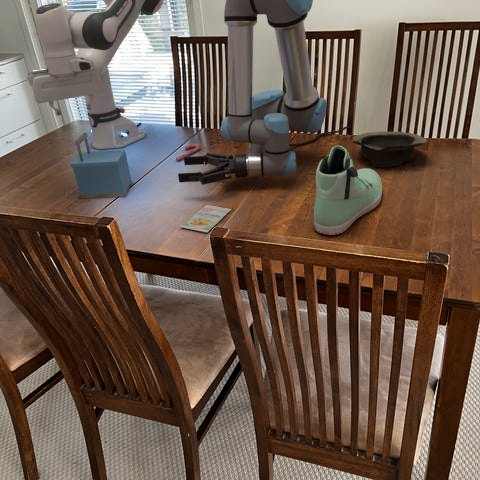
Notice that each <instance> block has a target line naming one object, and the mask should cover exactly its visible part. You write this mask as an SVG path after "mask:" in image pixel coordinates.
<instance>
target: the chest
mask: <svg viewBox="0 0 480 480" xmlns="http://www.w3.org/2000/svg"><path fill="white" fill-rule="evenodd" d="M72 170H73V174H74V177H75V182H76V185H77V188H78V192H79V193H78V194H79V196H80V199H92V198H93V199H94V198H120V197H122V198H123V197H126V195H127V193H128V191H129V190H130V188H131V186H132V184H133V182H132V176H131V172H130V166H129V163H128V157H127V154H125V155H124V157H123V158H122V160H121V161H120V162H119V164H118V165H108V166H86V167H72Z"/></svg>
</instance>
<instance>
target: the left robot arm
mask: <svg viewBox="0 0 480 480" xmlns="http://www.w3.org/2000/svg"><path fill="white" fill-rule="evenodd" d="M102 1H103V3H104V4H105V6H106V8H105V9H104V10H103V11H98V12H82V13H81V12H80V13H79V12H77V13H76V12H74V11H70V10H68V9H66V8H65V7H63V5H62V4H61V3H57V2H53V3H52V2H51V3H48V4H44V5H41V6H39V7H38V8H37V9H35V13H34V20H35V27H36V31H37V32H36V33H37V35H38V39H39V43H40V44H41V46H42V49H43V58H44V62H45V65H46V67H44V68H39V69H32V70H31V71H30V72H28V73H27V76H26V77H27V81H28V84H29V85H30V86H31V87H32V92H33V97H34V101H35V102H36V103H38V104H44V103H48V105H49V107H50V108H51V109H52V110H53V111H54V113H55V116H56V117H59V116H62V112H61V109H60V107H56V106H55V102H56V101H62V100H68V99H75V98H81V97H84V100H85V106H86V111H87V118H88V122H89V125H90V127H91V128H90V129H91V130H90V133H91V137H92V138H91V140H92V141H91V147H92V148H94V149H98V150H107V149H121V148H122V149H123V148H124V147H127V146H128V145H131V144H132V143H135V142H137V141H139V140H141V139H143V138H145V137H146V135H145V133H144V132H142V131H140V130H139V129H138V127H140V125H142V122H141V121H140V122H138V124H136V123H135V122H134V121H133V120H131V119H129V118H127V117H125V116H123V115H122V114H125V112H126V109H125V108H124V107H123V108H122V107H117V106H116V103H115V97H114V94H113V88H112V83H111V76H110V70H109V65H110V63H111V62H112V60H113V58H114V57H115V55H116V53H117V51H118V50H119V48H120V46H121V45H122V43H123V42H124V40H125V39H126V37H127V36H128V34H129V33H130V32H131V30H132V28H133V27H134V25H135V23H136V22H137V21H138V19H139V16H148V17H149V16H153V15H155V14H157V13H158V12H159V11H160V9H161V8H162V6H163V4H164V0H102ZM75 49H78V50H77V52H76V50H75Z"/></svg>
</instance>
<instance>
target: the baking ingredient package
mask: <svg viewBox="0 0 480 480" xmlns="http://www.w3.org/2000/svg"><path fill="white" fill-rule="evenodd" d="M231 211H232V208H228V207H221V206H217V205H211V204H205V205H204V206H203V207H201V209H199V210H198V211H197V212H196V213H195V214H193V215H192V216H191V217H190V218H189V219H188V220H187V221H185V222H184V223H183V224H181V226H180V228H183V229H187V230H193V231H198V232H203V233H209V232H210V230H212V228H213V227H215V226H216V225H217V224H219V222H220V221H221V220H222V219H223V218H224V217H225V216H226V215H228V213H230V212H231Z"/></svg>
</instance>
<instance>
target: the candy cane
mask: <svg viewBox="0 0 480 480" xmlns="http://www.w3.org/2000/svg"><path fill="white" fill-rule="evenodd" d="M184 149H185V150H187V151H186V152H184V153H182V154H181V155H179V156H176V158H175V161H177V162H179V161H181V160H184V157H190V156H191V155H192V154H194V153H196V152H198V151H200V149H201V146H200V144H197V143H196V144H194V143H192V144H188V145H186V146H185V147H184ZM189 149H190V150H189Z"/></svg>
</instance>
